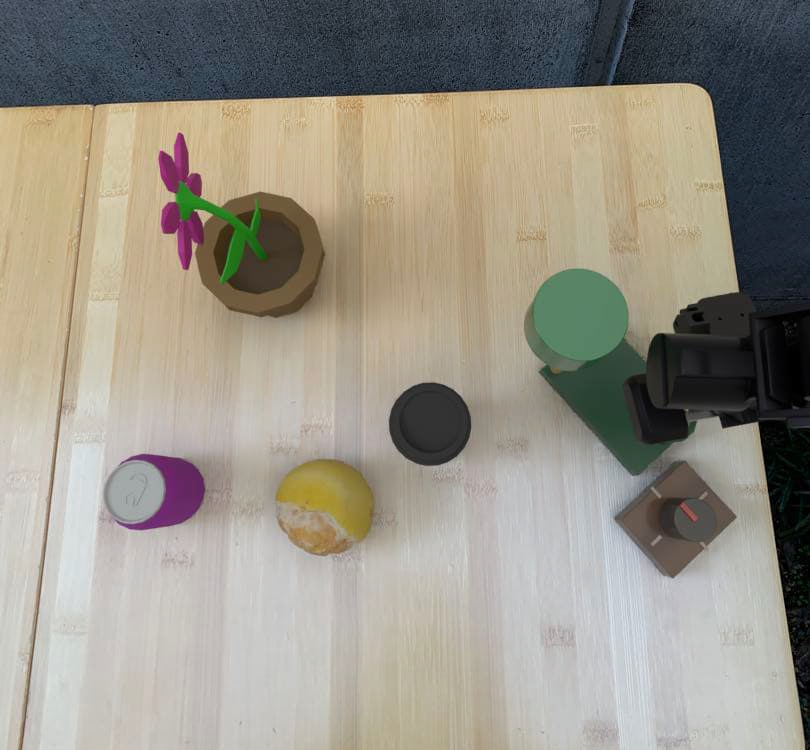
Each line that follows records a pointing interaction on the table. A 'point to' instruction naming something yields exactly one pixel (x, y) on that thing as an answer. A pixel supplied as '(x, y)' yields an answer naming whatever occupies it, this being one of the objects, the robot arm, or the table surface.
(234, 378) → the table surface
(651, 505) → the dimmer panel
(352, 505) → the fruit
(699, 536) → the dimmer knob
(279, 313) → the flowerpot
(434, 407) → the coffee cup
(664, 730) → the table surface
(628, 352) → the lamp base
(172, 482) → the beverage can
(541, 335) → the green short cylinder
